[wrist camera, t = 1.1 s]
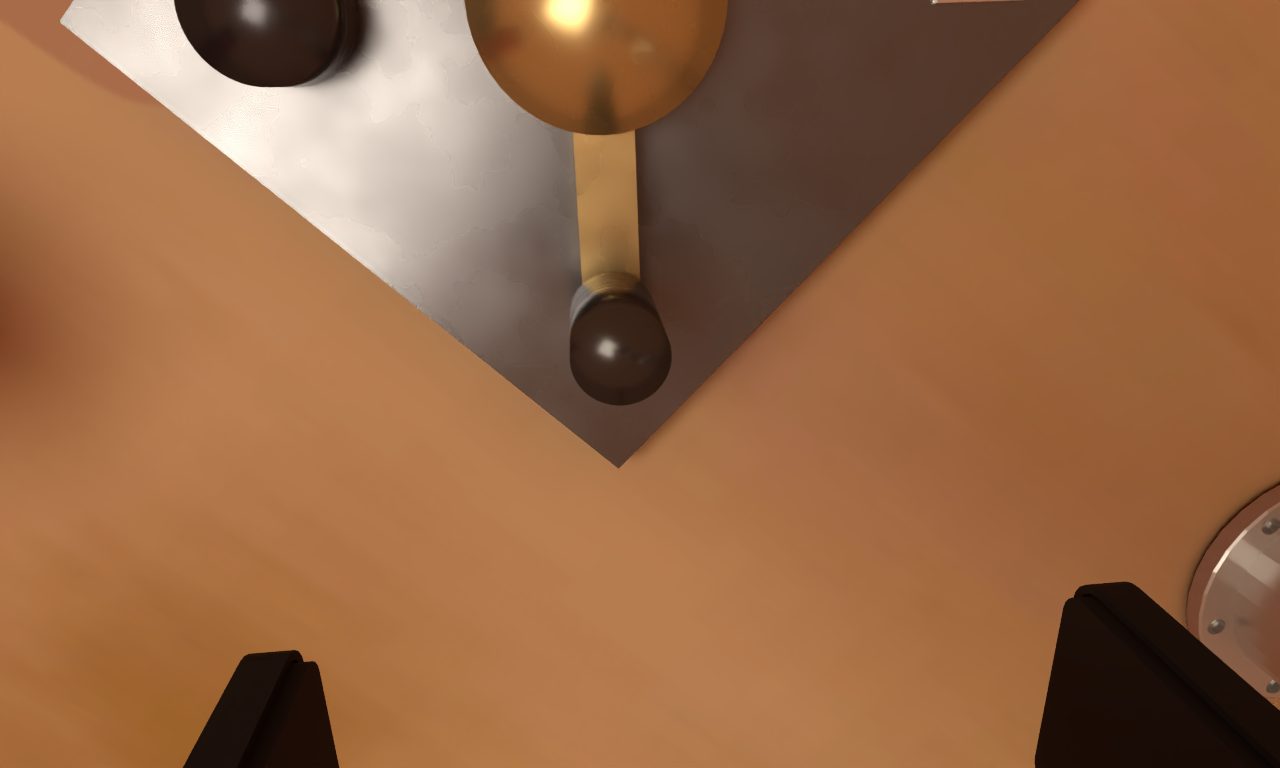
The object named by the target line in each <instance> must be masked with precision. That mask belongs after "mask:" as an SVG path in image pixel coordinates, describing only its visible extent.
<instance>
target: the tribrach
mask: <svg viewBox="0 0 1280 768" xmlns="http://www.w3.org/2000/svg"><path fill="white" fill-rule="evenodd" d="M1078 1H1079V0H728V5H727V15H726V21H725V27H724V31H723V35H722V38H721V41H720V45H719V48H718V50H717V52H716V55H715V57H714V59H713V61H712V64H711V65H710V67H709V69H708V70H707V72H706V74H705V75H704V77H703V79H702V80H701V82H700V83H699V84H698V85H697V87H696V88H695V89H694V90H693V92H692V93H691V94H690V95H689V96H688V97H687V98H686V99H685V100H684V101H683V102H682V103H681V104H680V105H679V106H677V107H676V108H675V109H673V110H672V111H671V112H670V113H668V114H667V115H665V116H664V117H662V118H660V119H658V120H657V121H655V122H653V123H651V124H649V125H646V126H644V127H641V128H639V129H636V130H635V152H636V180H637V207H638V235H639V262H640V281H641V282H642V283H643V284H644V285H645V286H646V287H647V289H648V290H649V292H650V293H651V295H652V298H653V300H654V303H655V305H656V308H657V311H658V313H659V316H660V318H661V321H662V324H663V326H664V329H665V331H666V334H667V336H668V339H669V342H670V345H671V351H672V362H671V367H670V370H669V374H668V376H667V378H666V380H665V381H664V383H663V384H662V386H661V387H660V388H659V389H658V390H657V391H656V392H655V393H654V394H653V395H651V396H650V397H648V398H646V399H645V400H643V401H640V402H638V403H635V404H631V405H624V406H616V405H609V404H605V403H602V402H599V401H597V400H595V399H593V398H592V397H590V396H589V395H587V394H586V393H585V392H584V391H583V390H582V389H581V388H580V386H579V385H578V384H577V382H576V380H575V379H574V376H573V374H572V371H571V367H570V306H571V302H572V299H573V297H574V295H575V293H576V291H577V290H578V288H579V287H580V286H581V285H582V273H581V256H580V240H579V224H578V208H577V192H576V175H575V159H574V143H573V132H570V131H566V130H563V129H560V128H556V127H554V126H552V125H550V124H547V123H545V122H543V121H541V120H539V119H538V118H536V117H534V116H533V115H531V114H530V113H528V112H526V111H525V110H524V109H523V108H521V107H520V106H519V105H518V104H516V103H515V102H514V101H513V100H512V99H511V98H510V97H509V96H508V95H507V94H506V93H505V92H504V91H503V90H502V89H501V88H500V87H499V85H498V84H497V82H496V81H495V80H494V78H493V77H492V76H491V74H490V73H489V71H488V70H487V68H486V66H485V64H484V63H483V61H482V59H481V57H480V55H479V53H478V51H477V48H476V46H475V43H474V41H473V38H472V35H471V31H470V28H469V24H468V21H467V15H466V9H465V2H464V0H74V1H73V3H72V4H71V6H70V7H69V8H68V10H67V12H66V13H65V14H64V16H63V17H62V19H61V20H60V23H62V24H63V25H64V26H65V27H67V28H68V29H69V30H70V31H72V32H73V33H74V34H75V35H77V36H78V37H79V38H80V39H82V40H83V41H84V42H85V43H87V44H88V45H89V46H91V47H92V48H93V49H94V50H96V51H97V52H98V53H99V54H100V55H102V56H103V57H104V58H105V59H107V60H108V61H109V62H110V63H112V64H113V65H114V66H115V67H117V68H118V69H119V70H120V71H122V72H123V73H124V74H126V75H127V76H128V77H129V78H131V79H132V80H133V81H134V82H136V83H137V84H138V85H139V86H140V87H142V88H143V89H144V90H146V91H147V92H148V93H149V94H150V95H152V96H153V97H154V98H155V99H157V100H158V101H159V102H160V103H162V104H163V105H164V106H165V107H167V108H168V109H169V110H170V111H172V112H173V113H174V114H175V115H177V116H178V117H179V118H180V119H182V120H183V121H184V122H185V123H187V124H188V125H189V126H190V127H192V128H193V129H194V130H195V131H197V132H198V133H199V134H200V135H202V136H203V137H204V138H205V139H207V140H208V141H209V142H211V143H212V144H213V145H214V146H216V147H217V148H218V149H219V150H221V151H222V152H223V153H224V154H226V155H227V156H228V157H229V158H231V159H232V160H233V161H234V162H236V163H237V164H238V165H239V166H241V167H242V168H243V169H244V170H246V171H247V172H248V173H249V174H251V175H252V176H253V177H254V178H256V179H257V180H258V181H259V182H261V183H262V184H263V185H264V186H266V187H267V188H268V189H269V190H271V191H272V192H273V193H274V194H276V195H277V196H278V197H279V198H281V199H282V200H283V201H284V202H286V203H287V204H288V205H289V206H291V207H292V208H293V209H294V210H296V211H297V212H298V213H299V214H301V215H302V216H303V217H304V218H306V219H307V220H308V221H309V222H311V223H312V224H313V225H314V226H316V227H317V228H318V229H319V230H321V231H322V232H323V233H324V234H326V235H327V236H328V237H329V238H331V239H332V240H333V241H334V242H336V243H337V244H338V245H339V246H341V247H342V248H343V249H344V250H346V251H347V252H348V253H349V254H351V255H352V256H353V257H354V258H356V259H357V260H358V261H359V262H361V263H362V264H363V265H364V266H366V267H367V268H368V269H369V270H371V271H372V272H373V273H374V274H376V275H377V276H378V277H379V278H381V279H382V280H383V281H384V282H386V283H387V284H388V285H389V286H391V287H392V288H393V289H394V290H396V291H397V292H398V293H399V294H401V295H402V296H403V297H404V298H406V299H407V300H408V301H410V302H411V303H412V304H413V305H415V306H416V307H417V308H418V309H420V310H421V311H422V312H423V313H425V314H426V315H427V316H428V317H430V318H431V319H432V320H433V321H435V322H436V323H437V324H438V325H440V326H441V327H442V328H443V329H445V330H446V331H447V332H448V333H450V334H451V335H452V336H453V337H455V338H456V339H457V340H458V341H460V342H461V343H462V344H463V345H465V346H466V347H467V348H468V349H470V350H471V351H472V352H473V353H475V354H476V355H477V356H478V357H480V358H481V359H482V360H483V361H485V362H486V363H487V364H488V365H490V366H491V367H492V368H493V369H495V370H496V371H497V372H498V373H500V374H501V375H502V376H503V377H505V378H506V379H507V380H508V381H510V382H511V383H512V384H513V385H515V386H516V387H517V388H518V389H520V390H521V391H522V392H523V393H525V394H526V395H527V396H528V397H530V398H531V399H532V400H533V401H535V402H536V403H537V404H538V405H540V406H541V407H542V408H543V409H545V410H546V411H547V412H548V413H550V414H551V415H552V416H553V417H555V418H556V419H557V420H558V421H560V422H561V423H562V424H563V425H565V426H566V427H567V428H568V429H570V430H571V431H572V432H573V433H575V434H576V435H577V436H578V437H580V438H581V439H582V440H583V441H585V442H586V443H587V444H588V445H590V446H591V447H592V448H593V449H595V450H596V451H597V452H598V453H600V454H601V455H602V456H604V457H605V458H606V459H607V460H609V461H610V462H611V463H612V464H614V465H615V466H616V467H617V468H620V467H621V466H622V465H623V464H624V463H625V462H626V461H627V459H628V458H629V457H630V456H631V455H632V454H633V453H634V452H635V451H636V450H637V449H638V448H639V447H640V446H641V445H642V444H643V443H644V442H645V441H646V440H647V439H648V438H649V437H650V436H651V435H652V434H653V433H654V432H655V431H656V430H657V429H658V428H659V427H660V426H661V425H662V424H663V423H664V422H665V421H666V420H667V419H668V418H669V417H670V416H671V415H672V414H673V413H674V412H675V411H676V410H677V409H678V408H679V407H680V406H681V405H682V404H683V403H684V402H685V401H686V400H687V399H688V397H689V396H690V395H691V394H692V393H693V392H694V391H695V390H696V389H697V388H698V387H699V386H700V385H701V384H702V383H703V382H704V381H705V380H706V379H707V378H708V377H709V376H710V375H711V374H712V373H713V372H714V371H715V370H716V369H717V368H718V367H719V366H720V365H721V364H722V363H723V362H724V361H725V360H726V359H727V358H728V357H729V356H730V355H731V354H732V353H733V352H734V351H735V350H736V349H737V348H738V347H739V346H740V345H741V344H742V343H743V342H744V341H745V340H746V339H747V338H748V336H749V335H750V334H751V333H752V332H753V331H754V330H755V329H756V328H757V327H758V326H759V325H760V324H761V323H762V322H763V321H764V320H765V319H766V318H767V317H768V316H769V315H770V314H771V313H772V312H773V311H774V310H775V309H776V308H777V307H778V306H779V305H780V304H781V303H782V302H783V301H784V300H785V299H786V298H787V297H788V296H789V295H790V294H791V293H792V292H793V291H794V290H795V289H796V288H797V287H798V286H799V285H800V284H801V283H802V282H803V281H804V280H805V279H806V278H807V277H808V275H809V274H810V273H811V272H812V271H813V270H814V269H815V268H816V267H817V266H818V265H819V264H820V263H821V262H822V261H823V260H824V259H825V258H826V257H827V256H828V255H829V254H830V253H831V252H832V251H833V250H834V249H835V248H836V247H837V246H838V245H839V244H840V243H841V242H842V241H843V240H844V239H845V238H846V237H847V236H848V235H849V234H850V233H851V232H852V231H853V230H854V229H855V228H856V227H857V226H858V225H859V224H860V223H861V222H862V221H863V220H864V219H865V218H866V217H867V216H868V214H869V213H870V212H871V211H872V210H873V209H874V208H875V207H876V206H877V205H878V204H879V203H880V202H881V201H882V200H883V199H884V198H885V197H886V196H887V195H888V194H889V193H890V192H891V191H892V190H893V189H894V188H895V187H896V186H897V185H898V184H899V183H900V182H901V181H902V180H903V179H904V178H905V177H906V176H907V175H908V174H909V173H910V172H911V171H912V170H913V169H914V168H915V167H916V166H917V165H918V164H919V163H920V162H921V161H922V160H923V159H924V158H925V157H926V156H927V155H928V153H929V152H930V151H931V150H932V149H933V148H934V147H935V146H936V145H937V144H938V143H939V142H940V141H941V140H942V139H943V138H944V137H945V136H946V135H947V134H948V133H949V132H950V131H951V130H952V129H953V128H954V127H955V126H956V125H957V124H958V123H959V122H960V121H961V120H962V119H963V118H964V117H965V116H966V115H967V114H968V113H969V112H970V111H971V110H972V109H973V108H974V107H975V106H976V105H977V104H978V103H979V102H980V101H981V100H982V99H983V98H984V97H985V96H986V95H987V94H988V93H989V91H990V90H991V89H992V88H993V87H994V86H995V85H996V84H997V83H998V82H999V81H1000V80H1001V79H1002V78H1003V77H1004V76H1005V75H1006V74H1007V73H1008V72H1009V71H1010V70H1011V69H1012V68H1013V67H1014V66H1015V65H1016V64H1017V63H1018V62H1019V61H1020V60H1021V59H1022V58H1023V57H1024V56H1025V55H1026V54H1027V53H1028V52H1029V51H1030V50H1031V49H1032V48H1033V47H1034V46H1035V45H1036V44H1037V43H1038V42H1039V41H1040V40H1041V39H1042V38H1043V37H1044V36H1045V35H1046V34H1047V33H1048V32H1049V30H1050V29H1051V28H1052V27H1053V26H1054V25H1055V24H1056V23H1057V22H1058V21H1059V20H1060V19H1061V18H1062V17H1063V16H1064V15H1065V14H1066V13H1067V12H1068V11H1069V10H1070V9H1071V8H1072V7H1073V6H1074V5H1075V4H1076V3H1077V2H1078Z"/></svg>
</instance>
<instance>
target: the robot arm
mask: <svg viewBox="0 0 1280 768" xmlns="http://www.w3.org/2000/svg"><path fill="white" fill-rule="evenodd" d="M1186 616H1187V624H1188V630H1187V629H1185V628H1184V627H1183V626H1182V625H1181V624H1180V623H1179V622H1177V621H1176V620H1175V619H1174V618H1173V617H1172V616H1171V615H1169V614H1168V613H1167V612H1166V611H1165V610H1164V609H1163V608H1161V607H1160V606H1159V605H1158V604H1157V603H1156V602H1155V601H1153V600H1152V599H1151V598H1150V597H1149V596H1148V595H1147V594H1145V593H1144V592H1143V591H1142V590H1141V589H1140V588H1138V587H1137V586H1135V585H1134V584H1132V583H1129V582H1115V583H1103V584H1091V585H1084V586H1081V587H1079V588H1078V590H1077V591H1076V592H1075V595H1074V598H1070V599H1068V600H1067V601H1066V602H1065V605H1064V608H1063V612H1062V618H1061V623H1060V628H1059V633H1058V639H1057V644H1056V649H1055V654H1054V660H1053V665H1052V670H1051V676H1050V681H1049V686H1048V691H1047V697H1046V702H1045V707H1044V712H1043V718H1042V723H1041V728H1040V734H1039V739H1038V744H1037V749H1036V755H1035V768H1280V711H1279V710H1278V709H1277V708H1276V707H1275V706H1274V705H1272V704H1271V703H1270V702H1269V701H1268V700H1267V699H1266V698H1264V697H1267V698H1277V699H1280V485H1279V486H1277V487H1275V488H1273V489H1272V490H1270V491H1268V492H1266V493H1264V494H1263V495H1261V496H1260V497H1259V498H1257V499H1256V500H1255V501H1253V502H1252V503H1251V504H1249V505H1248V506H1247V507H1246V508H1244V509H1243V510H1242V511H1240V512H1239V513H1238V514H1237V515H1236V516H1235V517H1234V518H1233V519H1232V520H1231V521H1230V522H1229V523H1228V524H1227V525H1226V526H1225V527H1224V528H1223V529H1222V531H1221V532H1220V533H1219V535H1218V536H1217V537H1216V539H1215V540H1214V541H1213V543H1212V544H1211V545H1210V547H1209V548H1208V549H1207V551H1206V553H1205V555H1204V557H1203V559H1202V561H1201V562H1200V564H1199V566H1198V568H1197V570H1196V572H1195V575H1194V578H1193V581H1192V585H1191V588H1190V591H1189V594H1188V604H1187V614H1186ZM183 768H339V764H338V760H337V755H336V750H335V745H334V740H333V735H332V730H331V725H330V720H329V716H328V711H327V706H326V701H325V696H324V691H323V686H322V681H321V676H320V671H319V668H318V665H317V664H316V662H313V661H311V662H304V661H303V658H302V656H301V654H300V653H299V651H296V650H291V651H279V652H266V653H254V654H248V655H246V656H244V657H243V659H242V660H241V661H240V663H239V665H238V667H237V668H236V670H235V672H234V674H233V676H232V678H231V679H230V681H229V683H228V685H227V687H226V689H225V691H224V692H223V694H222V696H221V698H220V700H219V702H218V704H217V705H216V707H215V709H214V711H213V713H212V715H211V716H210V718H209V720H208V722H207V724H206V726H205V728H204V729H203V731H202V733H201V735H200V737H199V739H198V741H197V742H196V744H195V746H194V748H193V750H192V752H191V753H190V755H189V757H188V759H187V761H186V763H185V765H184V766H183Z"/></svg>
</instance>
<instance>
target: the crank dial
mask: <svg viewBox="0 0 1280 768" xmlns="http://www.w3.org/2000/svg"><path fill="white" fill-rule="evenodd" d="M464 2H465V9H466V15H467V21H468V24H469V28H470V31H471V35H472V38H473V41H474V43H475V46H476V48H477V51H478V53H479V55H480V57H481V59H482V61H483V63H484V64H485V66H486V68H487V70H488V71H489V73H490V74H491V76H492V77H493V78H494V80H495V81H496V82H497V84H498V85H499V87H500V88H501V89H502V90H503V91H504V92H505V93H506V94H507V95H508V96H509V97H510V98H511V99H512V100H513V101H514V102H515V103H516V104H518V105H519V106H520V107H521V108H523V109H524V110H525V111H526V112H528V113H530V114H531V115H533V116H534V117H536V118H538V119H539V120H541V121H543V122H545V123H547V124H550V125H552V126H554V127H556V128H560V129H563V130H566V131H570V132H573V143H574V159H575V175H576V192H577V208H578V224H579V240H580V256H581V273H582V285H581V286H580V287H579V288H578V290H577V291H576V293H575V295H574V297H573V299H572V302H571V306H570V367H571V371H572V374H573V376H574V379H575V380H576V382H577V384H578V385H579V386H580V388H581V389H582V390H583V391H584V392H585V393H586V394H587V395H589V396H590V397H592V398H593V399H595V400H597V401H599V402H602V403H605V404H609V405H616V406H624V405H631V404H635V403H638V402H640V401H643V400H645V399H646V398H648V397H650V396H651V395H653V394H654V393H655V392H656V391H657V390H658V389H659V388H660V387H661V386H662V384H663V383H664V381H665V380H666V378H667V376H668V374H669V370H670V367H671V362H672V351H671V345H670V342H669V339H668V336H667V334H666V331H665V329H664V326H663V324H662V321H661V318H660V316H659V313H658V311H657V308H656V305H655V303H654V300H653V298H652V295H651V293H650V292H649V290H648V289H647V287H646V286H645V285H644V284H643V283H642V282H641V281H640V262H639V235H638V207H637V180H636V152H635V130H636V129H639V128H641V127H644V126H646V125H649V124H651V123H653V122H655V121H657V120H658V119H660V118H662V117H664V116H665V115H667V114H668V113H670V112H671V111H672V110H673V109H675V108H676V107H677V106H679V105H680V104H681V103H682V102H683V101H684V100H685V99H686V98H687V97H688V96H689V95H690V94H691V93H692V92H693V90H694V89H695V88H696V87H697V85H698V84H699V83H700V82H701V80H702V79H703V77H704V75H705V74H706V72H707V70H708V69H709V67H710V65H711V64H712V61H713V59H714V57H715V55H716V52H717V50H718V48H719V45H720V41H721V38H722V35H723V31H724V27H725V21H726V15H727V5H728V0H464Z"/></svg>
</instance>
